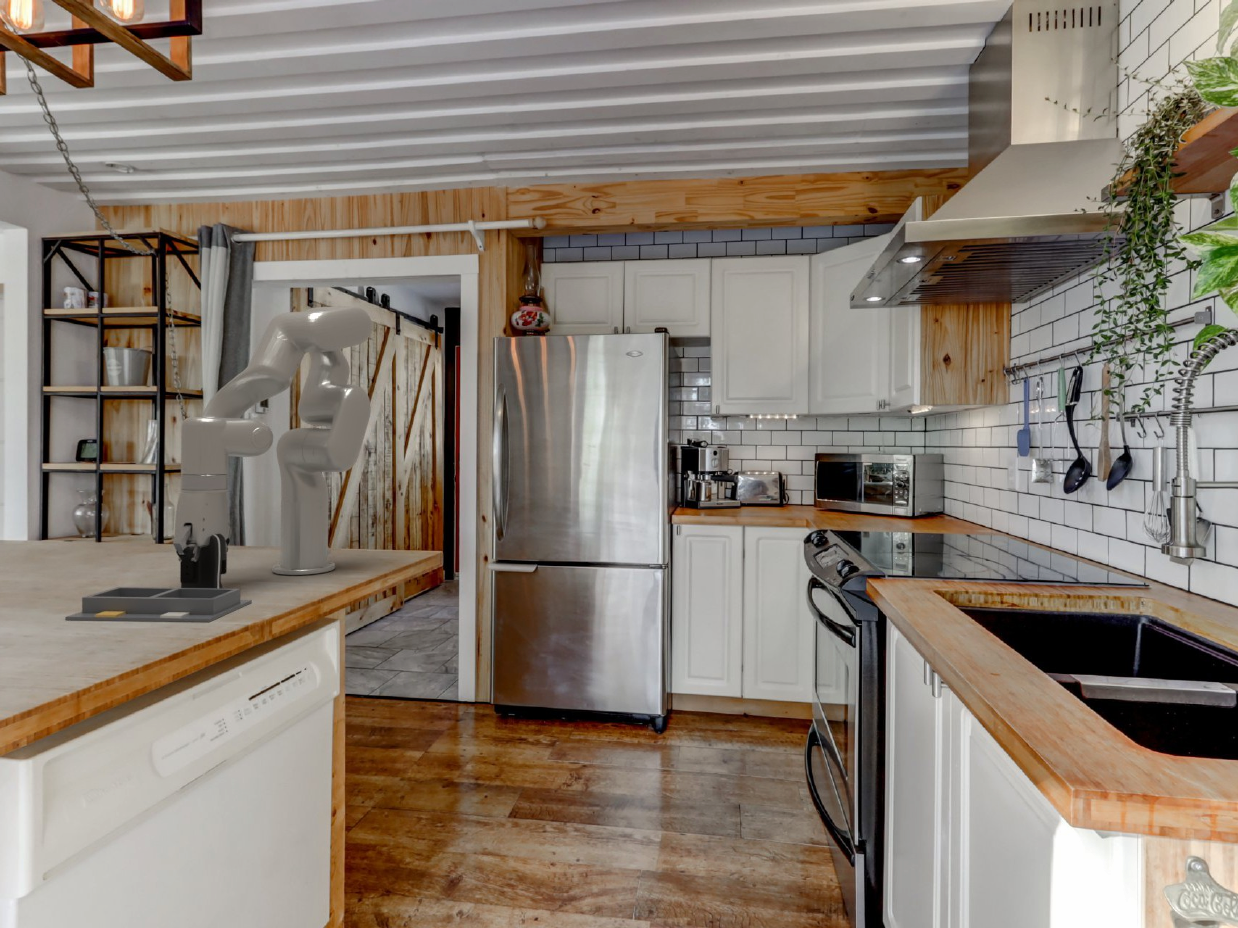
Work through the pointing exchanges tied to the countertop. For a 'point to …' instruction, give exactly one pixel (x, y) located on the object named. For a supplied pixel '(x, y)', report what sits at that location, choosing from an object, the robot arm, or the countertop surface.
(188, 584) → the battery charger
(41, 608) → the countertop surface
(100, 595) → the dock
